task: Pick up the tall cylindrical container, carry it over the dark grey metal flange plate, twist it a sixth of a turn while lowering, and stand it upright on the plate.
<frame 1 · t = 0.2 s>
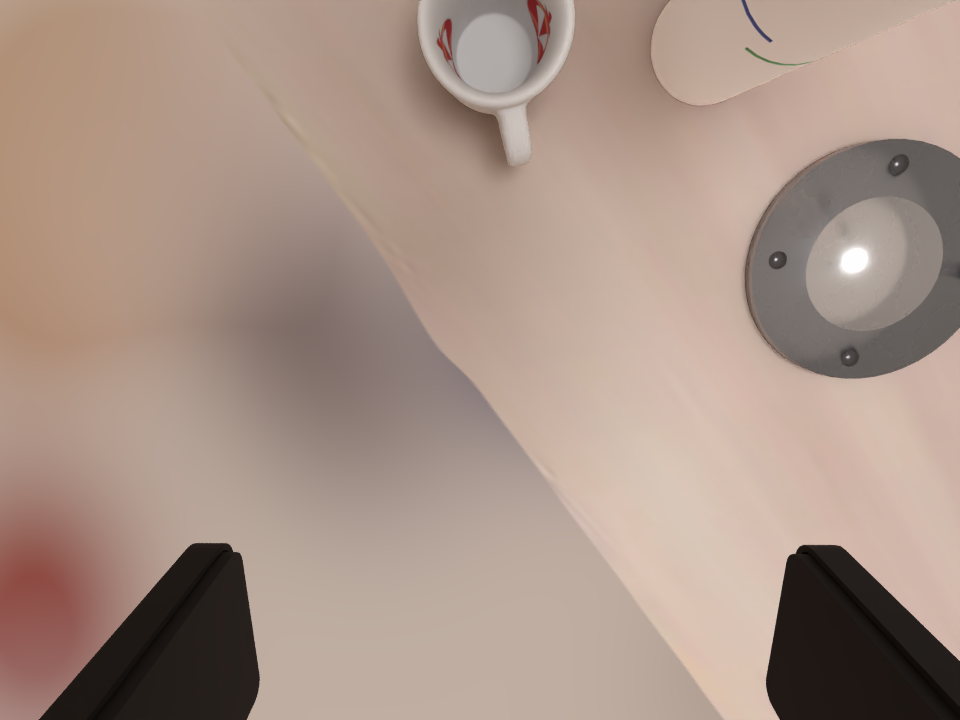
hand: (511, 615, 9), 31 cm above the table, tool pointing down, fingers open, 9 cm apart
flange plate: (861, 264, 38), on the table
cylindrical container: (706, 45, 35), on the table
cup: (498, 84, 36), on the table
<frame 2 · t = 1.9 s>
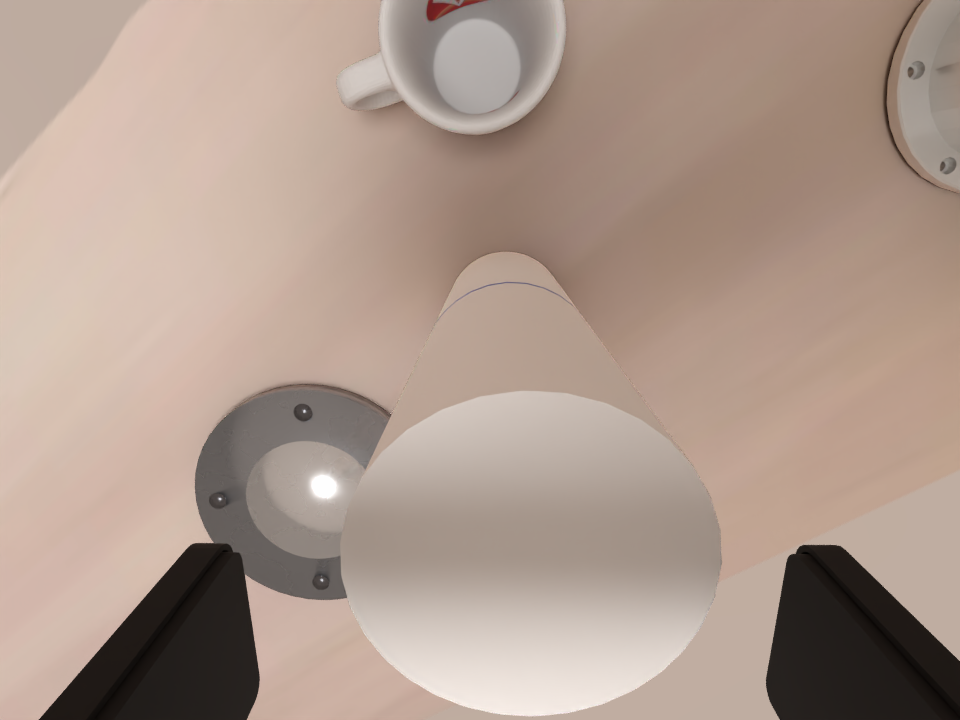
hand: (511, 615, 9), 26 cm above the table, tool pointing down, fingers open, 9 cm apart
flange plate: (317, 492, 38), on the table
cylindrical container: (505, 308, 34), on the table
cup: (453, 81, 31), on the table
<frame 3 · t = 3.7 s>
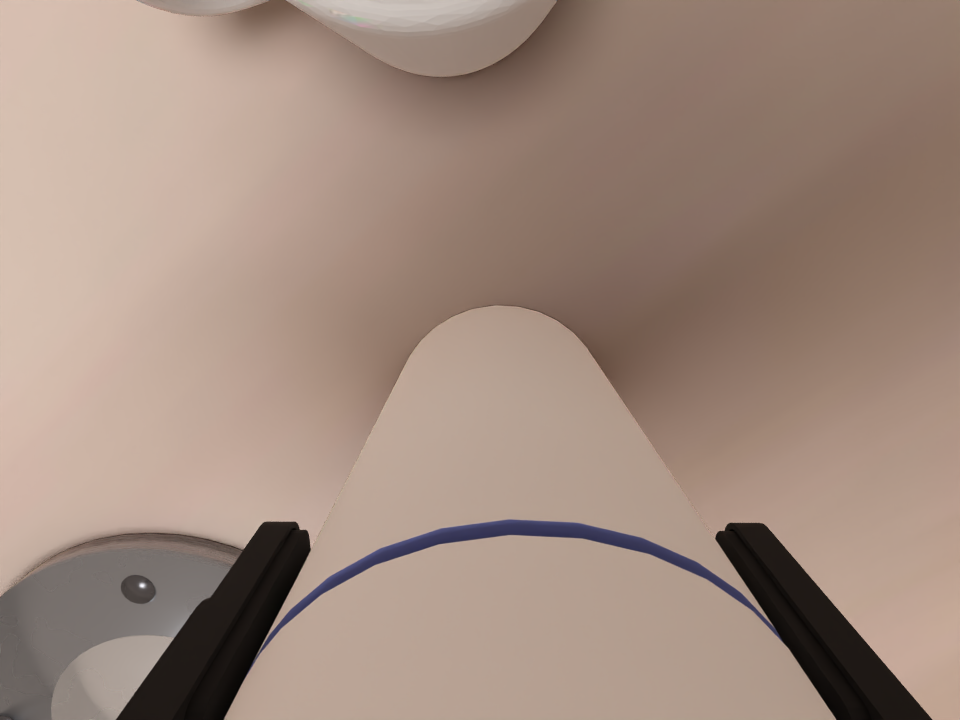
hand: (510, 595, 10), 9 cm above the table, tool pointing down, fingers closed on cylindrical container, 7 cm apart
flange plate: (184, 701, 23), on the table
cylindrical container: (500, 405, 19), on the table, touching gripper
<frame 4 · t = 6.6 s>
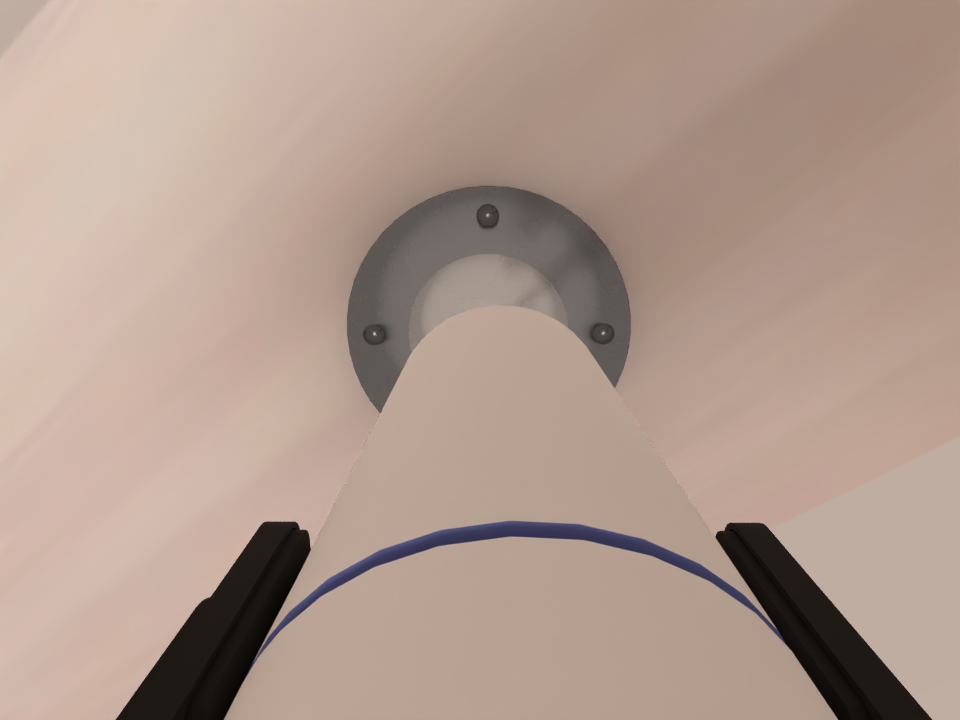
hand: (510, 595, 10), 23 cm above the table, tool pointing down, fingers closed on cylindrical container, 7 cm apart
flange plate: (488, 329, 32), on the table
cylindrical container: (500, 405, 19), point 14 cm above the table, touching gripper
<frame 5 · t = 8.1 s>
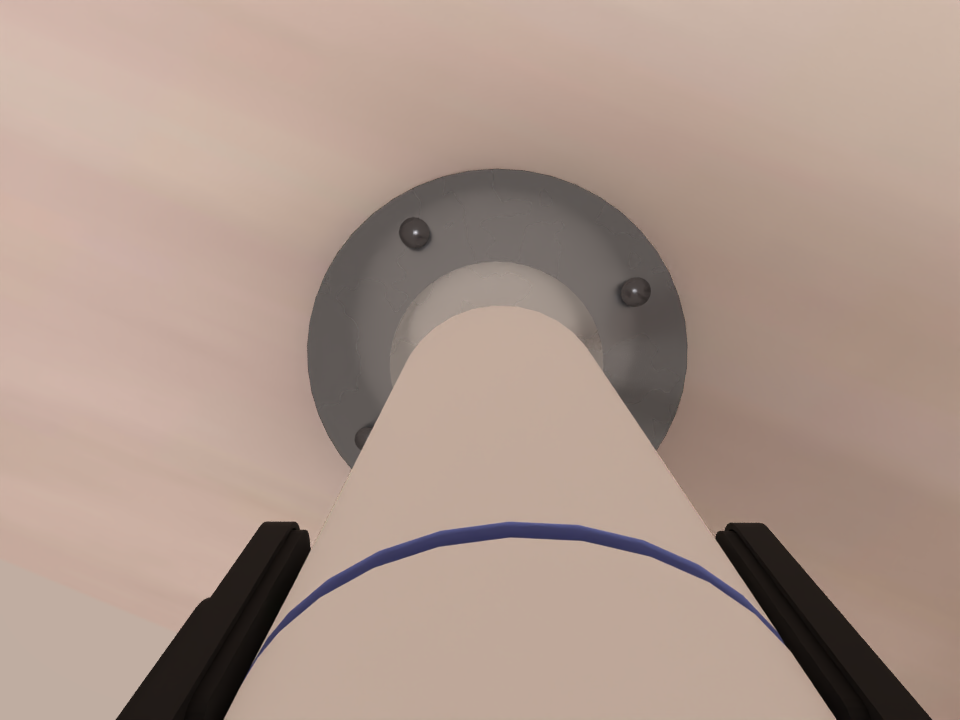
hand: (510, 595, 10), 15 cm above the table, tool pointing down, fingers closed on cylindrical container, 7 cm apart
flange plate: (495, 361, 24), on the table
cylindrical container: (500, 406, 19), point 6 cm above the table, touching gripper
when the fingers open (11 cm above the table, at t = 9.3 s): cylindrical container stays where it is, resting on flange plate.
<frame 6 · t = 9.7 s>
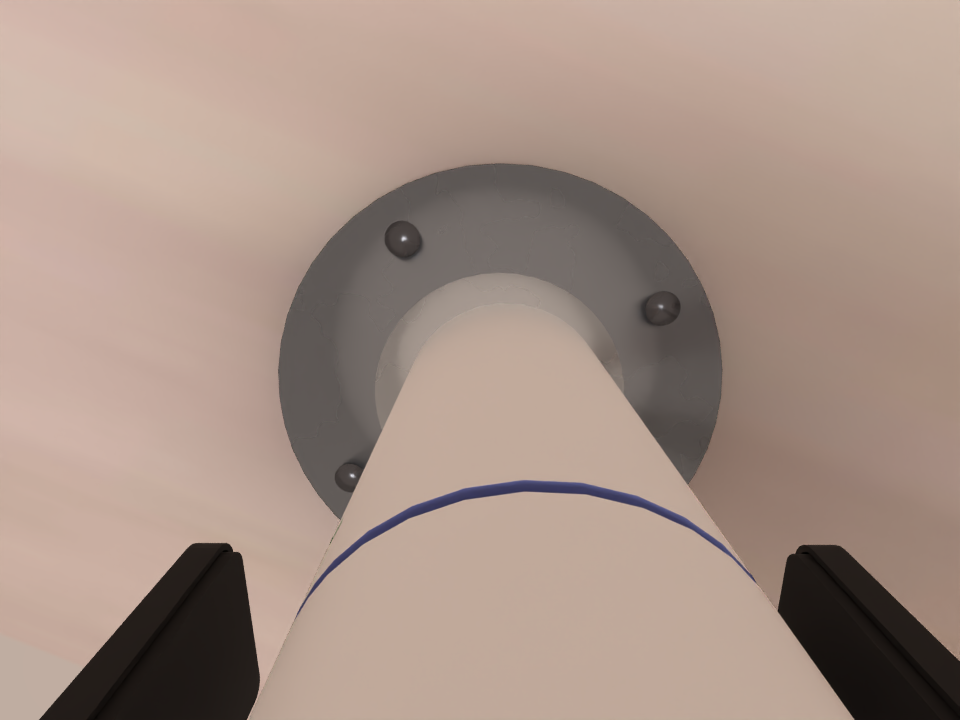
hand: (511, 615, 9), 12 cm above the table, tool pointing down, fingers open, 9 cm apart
flange plate: (498, 386, 21), on the table
cylindrical container: (504, 398, 20), point 1 cm above the table, touching flange plate
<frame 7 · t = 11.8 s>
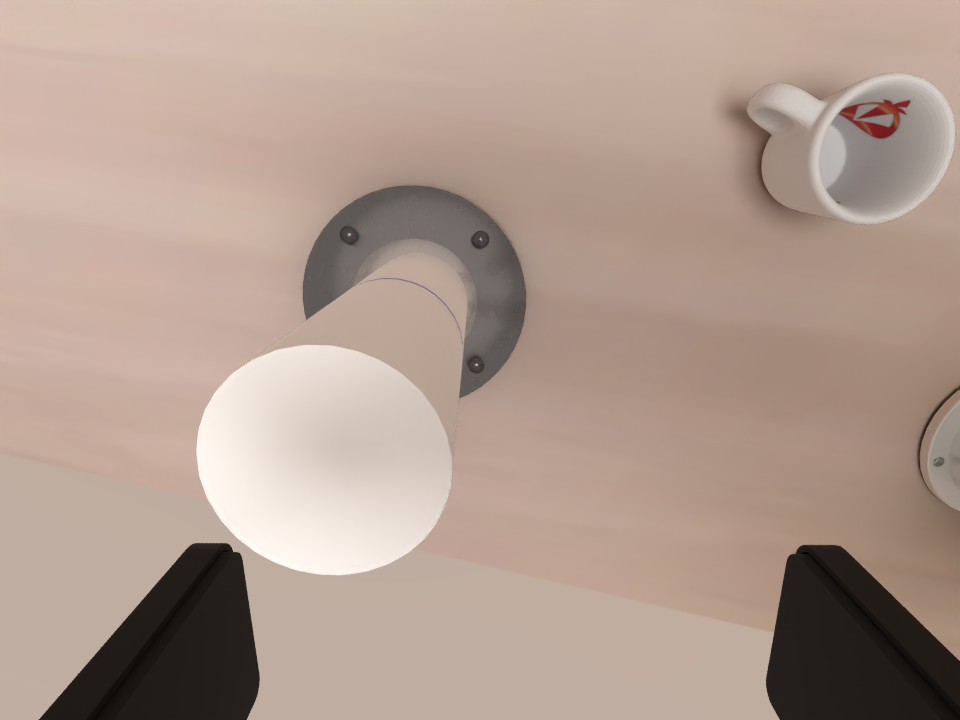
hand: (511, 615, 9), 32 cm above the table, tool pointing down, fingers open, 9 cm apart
flange plate: (416, 299, 41), on the table
cylindrical container: (418, 302, 40), point 1 cm above the table, touching flange plate
cup: (784, 149, 38), on the table
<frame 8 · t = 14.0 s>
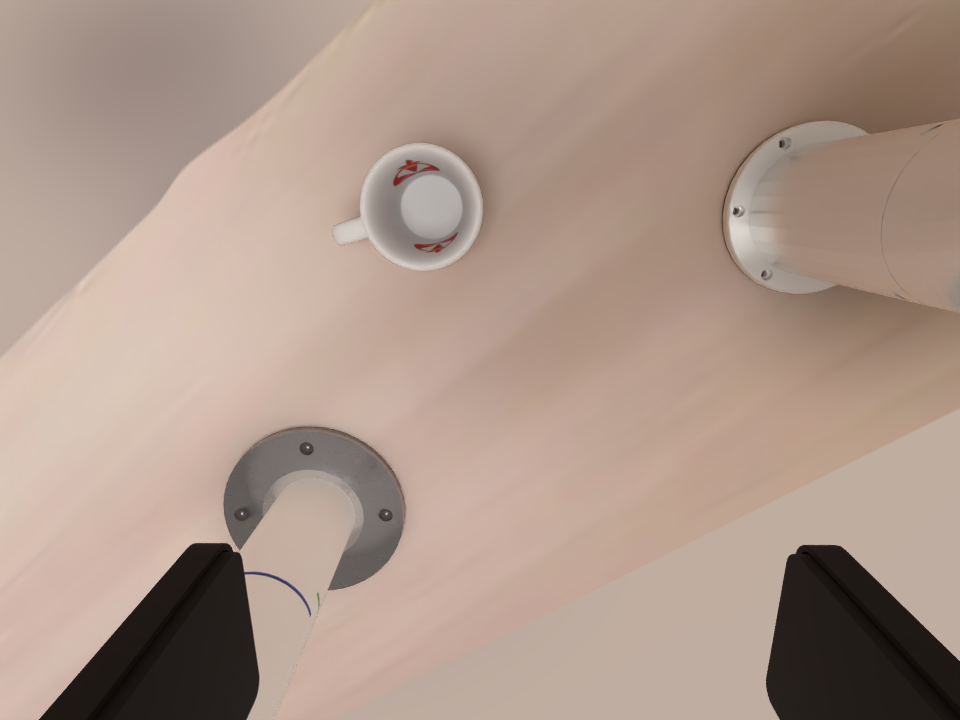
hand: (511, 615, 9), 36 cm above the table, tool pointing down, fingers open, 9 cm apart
flange plate: (317, 507, 50), on the table
cylindrical container: (315, 512, 49), point 1 cm above the table, touching flange plate
cup: (416, 212, 43), on the table
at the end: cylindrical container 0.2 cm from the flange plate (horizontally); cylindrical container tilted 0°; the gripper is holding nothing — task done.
